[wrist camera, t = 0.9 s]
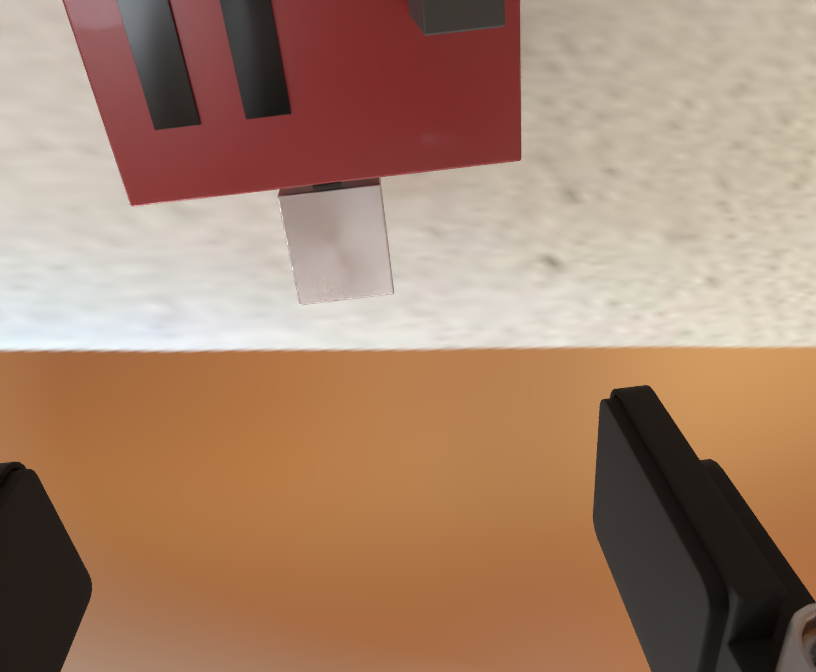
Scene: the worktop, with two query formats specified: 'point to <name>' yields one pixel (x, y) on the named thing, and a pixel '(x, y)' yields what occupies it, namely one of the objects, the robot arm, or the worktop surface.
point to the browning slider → (456, 15)
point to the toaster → (292, 93)
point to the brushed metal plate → (337, 241)
